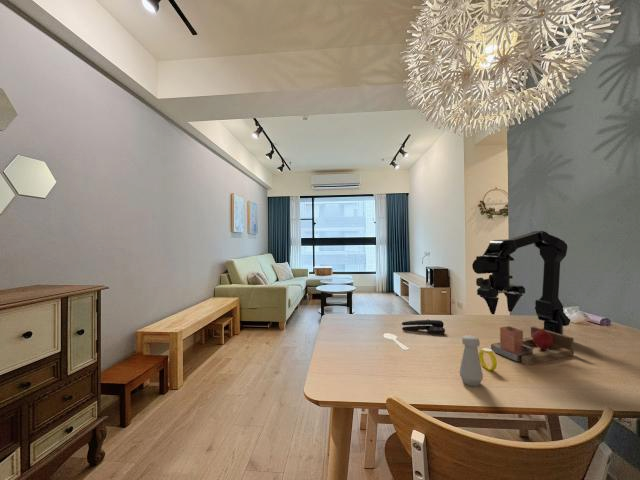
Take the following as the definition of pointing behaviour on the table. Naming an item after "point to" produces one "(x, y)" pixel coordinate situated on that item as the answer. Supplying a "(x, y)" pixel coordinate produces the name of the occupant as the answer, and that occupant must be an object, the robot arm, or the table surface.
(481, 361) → the watch
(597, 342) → the table surface
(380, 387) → the table surface
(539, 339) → the onion
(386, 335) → the spoon
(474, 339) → the salt shaker
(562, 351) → the bench
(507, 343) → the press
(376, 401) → the table surface
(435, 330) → the can opener
